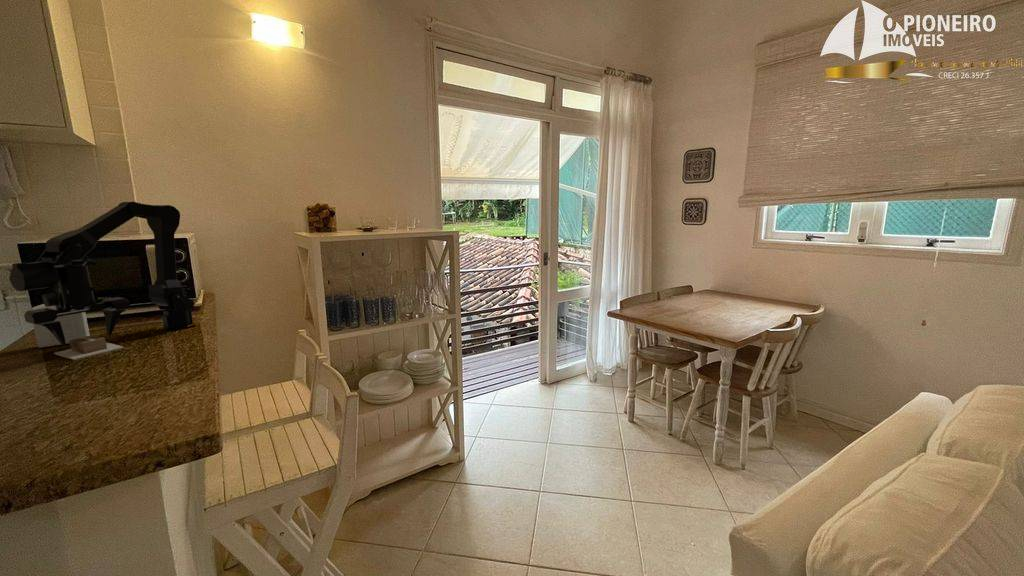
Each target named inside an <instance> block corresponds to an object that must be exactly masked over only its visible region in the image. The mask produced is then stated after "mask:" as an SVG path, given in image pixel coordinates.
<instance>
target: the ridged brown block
mask: <svg viewBox="0 0 1024 576" xmlns="http://www.w3.org/2000/svg"><path fill="white" fill-rule="evenodd" d="M106 342H107V341H106V338H105V337H100V336H96V335H90V336H86V337H81V338H77V339H72V340H70V343H69V344H70V349H72V351H76V352H79V353H83V354H87V353H92V352H96V351H100V350H104V349H107V345H106Z"/></svg>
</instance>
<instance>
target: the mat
mask: <svg viewBox="0 0 1024 576" xmlns="http://www.w3.org/2000/svg"><path fill="white" fill-rule="evenodd" d="M106 345H107V349H104V350H100V351H96V352H92V353H87V354H83V353H79V352H76V351H72V348H70V349H69V348H68V349H65V350H61V351H56V352H54V353H53V354H54V355H56V356H59V357H63V358H65V359H69V360H72V361H76V360H81V359H84V358H88V357H89V358H90V357H92V356H97V355H102V354H106V353H109V352H113V351H117V350H122V349H124V346H122V345H118V344H115V343H110V342H107V341H106Z"/></svg>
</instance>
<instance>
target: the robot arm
mask: <svg viewBox="0 0 1024 576" xmlns="http://www.w3.org/2000/svg"><path fill="white" fill-rule="evenodd" d="M135 217H136V218H140V219H144V220H146V224H147V225H148V228H150V230H151V231H152V233H153V239H154V240H153V242H154V254H155V257H154V258H155V272H156V279H155V281H154V284H148V285H147V289H148V296H147V298H150V301H151V303H153V304H154V305H156V306H157V307H158V309H159V310H160V311H162V312H163V315H162V316H161V317H162V321H163V322H162V323H163V327H162V329H165V330H168V329H169V330H168V331H173V330H175V331H178V329H179V330H181V329H180V328H184V327H187V326H188V325H190V324H194V321H193V315H192V310H193V309H194V308H195V303H196V302H195V301H194V300H192V299H190V298H188V297H187V296H186V295H185V291H184V288H183V285H182V284H181V282H180V281H179V280H178V278H177V277H178V276H177V259H176V243H175V242H176V241H175V234H176V232H177V230H178V228H179V226H180V220H181V212H180V210H179V209H178V208H176V207H175V206H173V205H170V204H164V205H163V204H161V205H160V204H157V205H156V204H146V203H140V202H137V201H122V202H119V204H118V205H116V206H114V207H113V208H111V209H110V210H108V211H107V212H105V213H103V214H102V215H100V216H97V218H95V219H93V220H92V221H90V222H88V223H87V224H85V225H83V226H81V227H78V228H77V229H74V230H71V231H66V232H63V233H61V234H58V235H56V236H53V237H51V238H49V239H47V241H46V242H45V243H44V244H45V249H44V250H43V252H42V253H41V255H40V256H39V257H38V258H37V260H36V261H35V262H14V263H12V264H11V267H12V268H11V270H10V275H9V277H8V278H9V282H10V284H11V286H12V287H13V288H14V290H16V291H17V292H25V291H33V290H40V289H41V290H42V289H46V288H47V289H48V288H49V289H50V288H53V287H56V286H55V285H56V284H58V286H59V288H57V289H58V290H57V291H58V292H57V293H58V294H55V293H54V292H53V293H45V294H42V301H43V304H44V305H45V306H46V307H50V306H56V309H58V310H54V309H49V308H43V309H37V310H32V309H31V310H26V312H25V313H24V315H23V316H24V321H25V322H26V323H29V324H32V325H33V324H37V325H41V326H45V327H46V328H47V329H48V330H49V331H51V333H52V334H53V335H54V336H55V337H56V339H57V340H58V341H59V342H60V343H61V345H60V346H66V345H67V344H66V343H65V337H64V334H63V330H62V326H61V323H60V321H56V318H57V317H59V316H65V315H71V314H77V313H83V312H85V313H86V312H94V311H98V310H101V312H102V313H103V315H104V321H105V329H106V330H105V331H106V333H107V335H108V336H112V334H113V332H114V329H115V327H116V324H117V322H118V320H119V318H120V316H121V315H122V313H124V312H125V313H126V309H130V308H131V302H130V300H129V299H128V298H127V297H126V298H125V297H119V296H115V297H110V298H102V300H101V302H97V301H95V296H94V292H95V287H94V286H92V283H91V282H92V281H91V278H90V272H89V268H88V267H90V266H91V267H92V266H97V265H98V262H97V261H96V260H92V259H91V258H89V256H87V254H89V253H90V252H91V251H92V250H93V249H94V248H95V247H96V245H97V243H98V241H100V240H102V238H104V237H105V236H107V235H108V234H110V233H111V232H113V231H114V230H116V229H117V228H119V227H120V226H122V225H124V224H126V223H127V222H128V221H130V220H131V219H133V218H135ZM63 308H64V309H63ZM71 310H74V311H71ZM184 329H185V328H184Z"/></svg>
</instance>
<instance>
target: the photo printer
mask: <svg viewBox="0 0 1024 576" xmlns="http://www.w3.org/2000/svg"><path fill="white" fill-rule="evenodd" d="M43 308H49V309H54V310H58V309H56V306H50V307H46V306H45V305H44V303H42V304H39V305H36V306H33V307H31V310H37V309H43ZM63 309H64V308H63ZM71 311H74V310H71ZM86 314H87V313H86V312H83V313H77V314H71V315H65V316H59V317H57V318H56V321H60V323H61V326H62V330H63V334H64V337H65V343H66V345H68V344H70V340H72V339H77V338H81V337H86V336H91V335H90V330H89V325H88V320H87V315H86ZM32 326H33V329H34V335H35V339H36V343H37V347H38V348H39V349H40V348H48V347H54V346H55V345H56V346H62V345H61V343H60V342H59V341H58V340H57V339H56V337H55V336H54V335H53V334H52V333H51V331H49V330H48V329H47V328H46V327H45V326H41V325H37V324H32Z"/></svg>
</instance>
